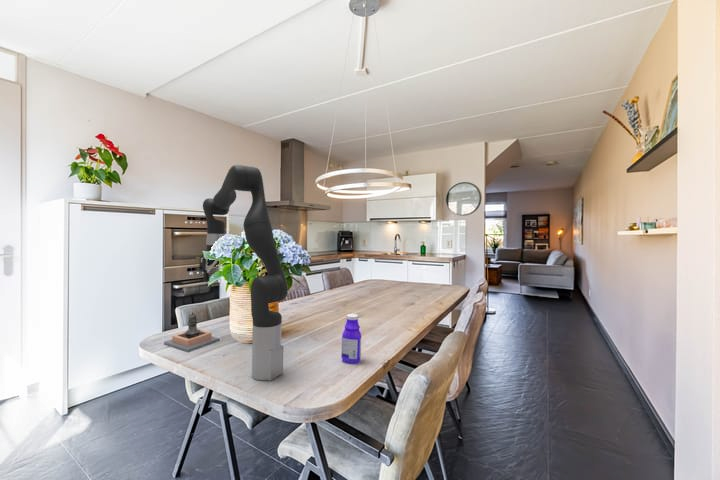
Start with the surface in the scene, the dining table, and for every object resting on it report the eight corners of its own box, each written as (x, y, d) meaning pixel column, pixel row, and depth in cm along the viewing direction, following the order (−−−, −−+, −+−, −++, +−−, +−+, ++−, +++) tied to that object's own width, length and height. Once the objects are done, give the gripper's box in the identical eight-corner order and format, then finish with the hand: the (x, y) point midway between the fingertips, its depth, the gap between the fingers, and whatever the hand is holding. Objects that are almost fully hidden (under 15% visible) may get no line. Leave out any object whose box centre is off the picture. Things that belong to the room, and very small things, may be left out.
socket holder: (219, 340, 125) (219, 332, 125) (187, 352, 113) (188, 343, 113) (195, 334, 132) (196, 326, 132) (163, 344, 120) (163, 336, 120)
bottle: (362, 359, 110) (363, 314, 110) (358, 365, 105) (359, 318, 105) (344, 356, 113) (345, 312, 112) (339, 362, 107) (340, 316, 107)
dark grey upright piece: (193, 343, 119) (193, 314, 119) (180, 342, 120) (181, 313, 120) (203, 338, 125) (203, 310, 124) (191, 337, 126) (192, 309, 126)
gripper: (207, 244, 120) (206, 283, 121) (235, 243, 133) (234, 278, 134) (195, 244, 124) (194, 281, 124) (223, 243, 136) (223, 277, 137)
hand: (215, 280), depth 129 cm, fingers open, 8 cm apart
